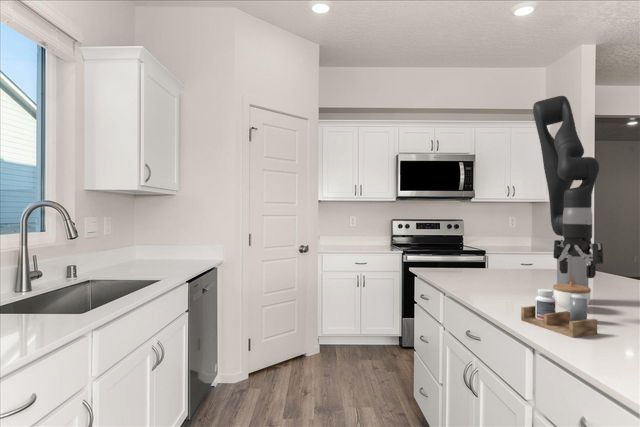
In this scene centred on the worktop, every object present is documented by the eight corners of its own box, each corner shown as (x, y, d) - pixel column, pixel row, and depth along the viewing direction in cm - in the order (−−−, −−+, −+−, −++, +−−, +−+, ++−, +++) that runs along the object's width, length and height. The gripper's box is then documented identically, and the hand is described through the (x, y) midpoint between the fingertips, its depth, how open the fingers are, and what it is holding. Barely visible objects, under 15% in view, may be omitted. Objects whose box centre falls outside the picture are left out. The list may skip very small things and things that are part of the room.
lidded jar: (584, 306, 134) (584, 280, 134) (595, 314, 124) (595, 285, 124) (549, 304, 138) (549, 278, 138) (557, 312, 128) (557, 284, 127)
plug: (576, 318, 120) (576, 293, 120) (590, 322, 116) (590, 296, 116) (566, 320, 118) (566, 294, 118) (579, 324, 114) (579, 297, 114)
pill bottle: (558, 322, 113) (558, 292, 112) (539, 321, 114) (539, 291, 113) (551, 317, 118) (551, 288, 118) (532, 316, 119) (532, 288, 119)
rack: (543, 317, 121) (543, 304, 121) (597, 333, 105) (597, 319, 105) (521, 320, 118) (521, 307, 118) (572, 337, 102) (572, 322, 102)
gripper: (547, 221, 123) (547, 272, 123) (590, 223, 109) (590, 280, 109) (565, 221, 125) (565, 271, 125) (610, 223, 111) (609, 279, 111)
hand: (576, 275), depth 117 cm, fingers open, 8 cm apart
